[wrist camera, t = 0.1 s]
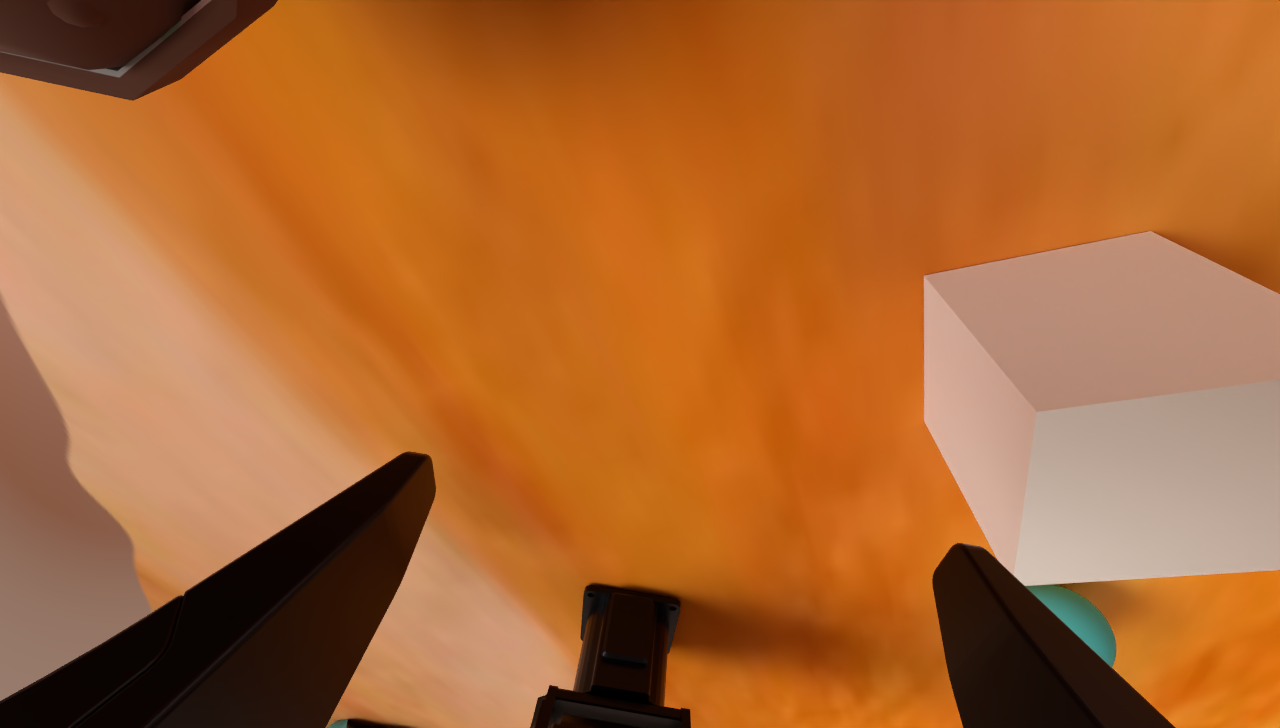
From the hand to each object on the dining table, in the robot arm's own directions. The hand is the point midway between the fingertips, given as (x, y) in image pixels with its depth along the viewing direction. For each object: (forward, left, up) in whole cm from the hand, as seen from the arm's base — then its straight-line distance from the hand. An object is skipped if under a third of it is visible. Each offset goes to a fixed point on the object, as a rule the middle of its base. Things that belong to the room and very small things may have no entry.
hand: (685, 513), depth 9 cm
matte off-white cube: (-3, -14, -15) cm, 21 cm away
